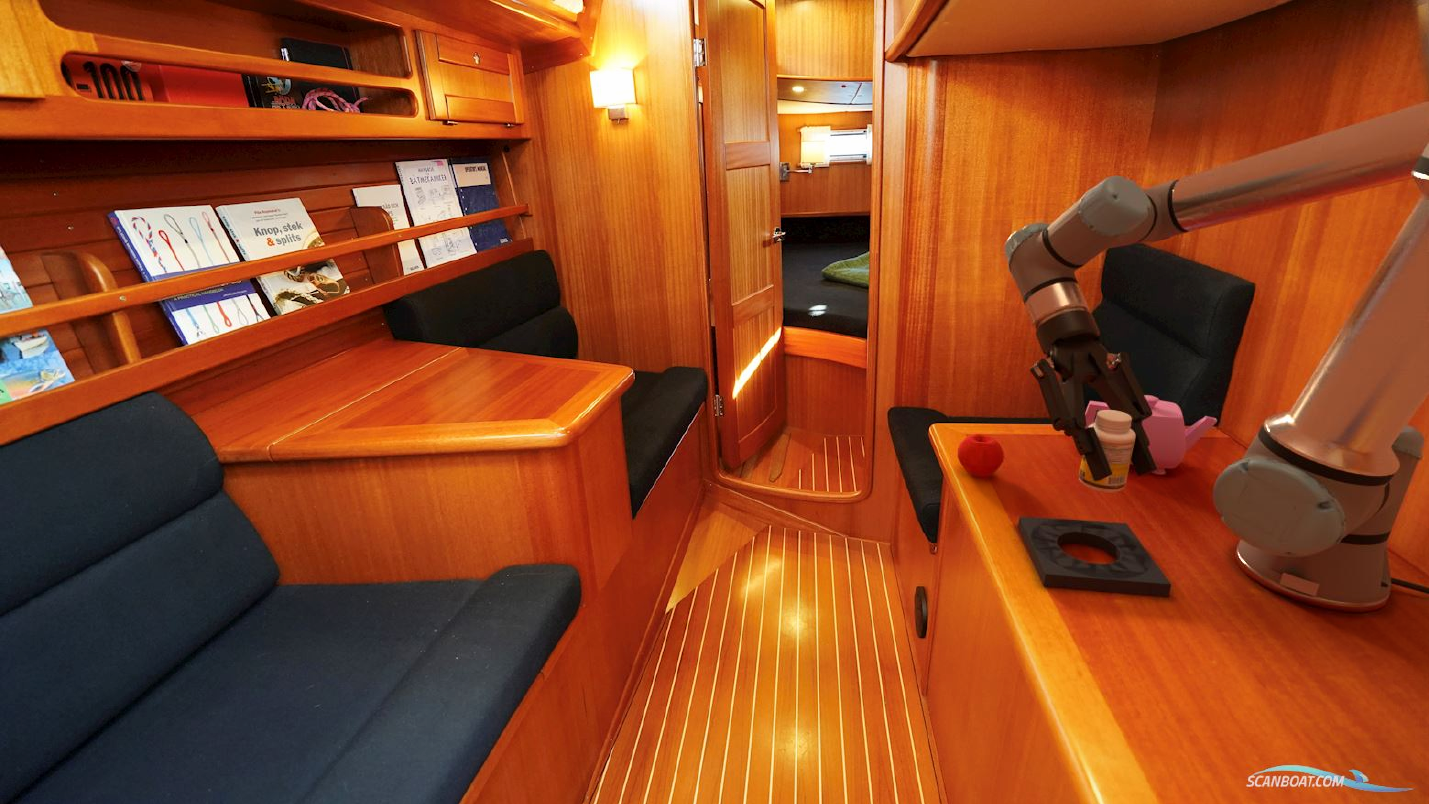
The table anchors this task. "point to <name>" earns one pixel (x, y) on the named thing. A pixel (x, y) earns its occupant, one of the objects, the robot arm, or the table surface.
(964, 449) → the apple
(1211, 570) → the table surface
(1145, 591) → the pad board
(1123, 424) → the supplement bottle
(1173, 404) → the teapot
